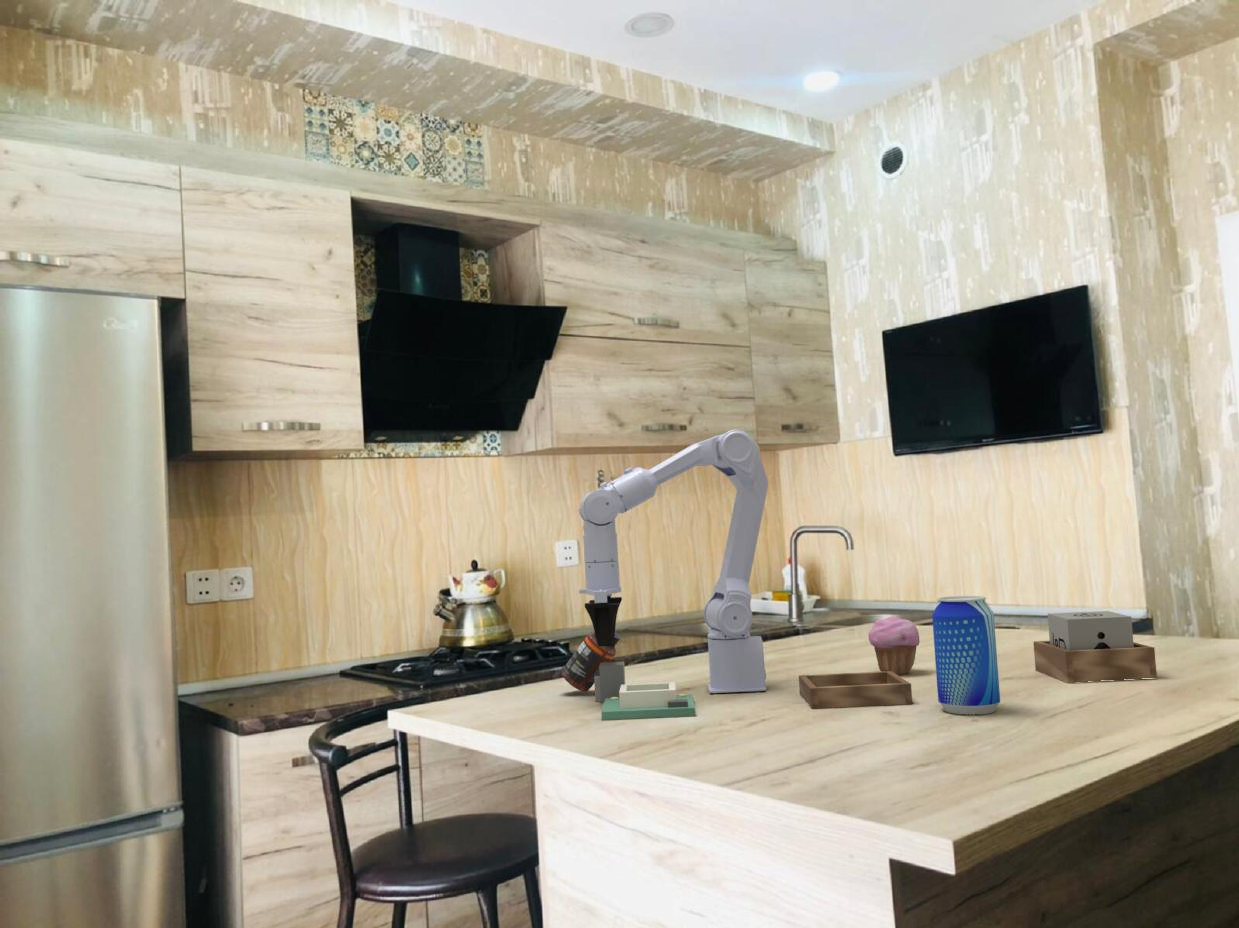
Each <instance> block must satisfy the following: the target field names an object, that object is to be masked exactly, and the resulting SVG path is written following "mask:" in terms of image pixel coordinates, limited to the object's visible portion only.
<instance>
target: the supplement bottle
mask: <svg viewBox="0 0 1239 928" xmlns="http://www.w3.org/2000/svg"><path fill="white" fill-rule="evenodd" d="M620 639H621V636H620V635H619V634H618V633H617V632H616V631H615V635H614V639H613V640H612V643H611V646H598V644H597V640H596V636H595V632H590V633H588V634H587V636H585V638H584V639H583V641H582V642H581V644H580V645H579V646H578V647H577V649H576V650H575V651H574V653H573V654H572V655H571V657H570V658H569V660H568V661H567V662H566V664H565V665H564V666H563V668H562V669H561V676H562V678H564V680H565V681H566V682H567V684H569V686H571V687H573V688H574V689H576V690H578V691H580V692H585V693H586V692H588V691H590V690H591V688H592V687H593V686H594V685H595V684H594V677H595V676H600V673H599V665H600V663H604V662H612V660H613V658H614V657H615V655H616V653H617V651H616V645H617V644H618V643H619V641H620Z"/></svg>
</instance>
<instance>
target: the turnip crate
mask: <svg viewBox="0 0 1239 928" xmlns="http://www.w3.org/2000/svg"><path fill="white" fill-rule="evenodd" d="M798 685H799V687H798V688H799V689H798V690H799V695H800V696H801V697H802V699H803V698H804V699H803V700H804V701H805V702H806V703H808V704H809V705H808V704H807V705H808V706H809V707H810V708H811V709H812V708H816V709H834V708H836V707H837V708H852V707H853V708H854V707H856V708H857V707H879V706H896V705H897V706H899V705H913V694H912V692H913V691H912V683H910V682H909V681H907V680H906V679H904V678H903V677H901V675H897V674H895V673H893V672H892V671H883V672H881V671H865V672H864V671H863V672H862V671H861V672H845V673H843V672H842V673H825V674H823V673H822V674H801V675H800V674H799V675H798ZM837 708H836V709H837Z"/></svg>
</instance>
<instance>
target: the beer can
mask: <svg viewBox="0 0 1239 928" xmlns="http://www.w3.org/2000/svg"><path fill="white" fill-rule="evenodd" d="M986 600H987V598H986V597H985V596H981V595H953V596H951V595H950V596H942V597H938V598H937V601H938V602H937V605H936V607H935V608H934V610H933V612H932V615H931V618H932V630H933V632H932V633H933V644H934V645H933V647H934V658H935V659H934V661H935V673H936V674H935V675H936V686H937V687H936V688H937V701H938V703H939V704H940V705H941V707H942V708H943V710H944V711H945V712H946V711H947V712H946V713H949V714H954V715H962V714H965V715H966V714H967V715H966V716H968V714H969V716H970V715H971V714H972V715H971V716H976V715H975V714H980V715H987V714H992V713H994V712H995V711H996V709H997V707H998V705H999V704H1000V703H1001V695H1000V694H1001V693H1000V692H1001V691H1000V681H999V669H998V668H999V665H998V654H997V639H996V626H995V614H994V612H993V610H992V608H991V607H990V606H989V604H988V603H987V601H986ZM965 715H964V716H965Z"/></svg>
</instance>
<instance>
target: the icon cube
mask: <svg viewBox="0 0 1239 928" xmlns="http://www.w3.org/2000/svg"><path fill="white" fill-rule="evenodd" d="M1132 619H1133V618H1132V616H1130V615H1126V614H1121V613H1117V612H1113V611H1109V610H1105V611H1104V610H1101V611H1081V612H1080V611H1079V612H1077V611H1076V612H1074V611H1073V612H1057V613H1055V612H1054V613H1053V612H1052V613H1047V623H1048V625H1047V626H1048V636H1049V641H1050V645H1053V646H1056V647H1059V648H1062V649H1066V650H1069V651H1073V650H1094V649H1115V648H1134V643H1133V642H1134V633H1133V632H1134V631H1133V620H1132Z"/></svg>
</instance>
